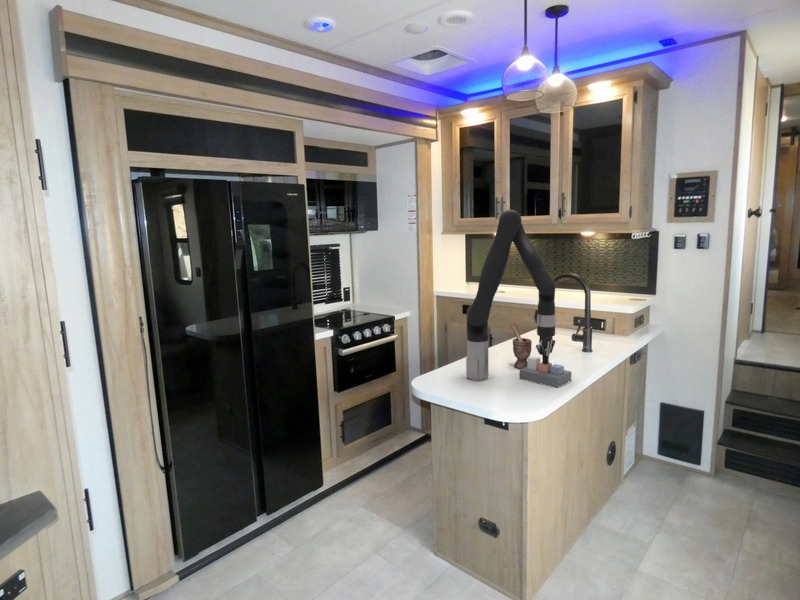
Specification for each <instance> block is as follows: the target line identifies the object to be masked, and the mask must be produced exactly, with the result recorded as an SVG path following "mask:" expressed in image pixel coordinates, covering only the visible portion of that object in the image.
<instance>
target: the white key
mask: <svg viewBox="0 0 800 600" xmlns="http://www.w3.org/2000/svg"><path fill="white" fill-rule="evenodd" d="M539 363H541V357H539V356H536V355H535V356H534V355H530V356H529V357H528V358H527V369H531V370H538V369H539Z"/></svg>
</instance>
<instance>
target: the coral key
mask: <svg viewBox="0 0 800 600" xmlns="http://www.w3.org/2000/svg"><path fill="white" fill-rule="evenodd" d="M552 365H553V364H552V362H549V363H548V364H543V363H542V362H540V363H539V371H540V372H545V373H549V372H550V370H551V366H552Z"/></svg>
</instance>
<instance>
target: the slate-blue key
mask: <svg viewBox="0 0 800 600" xmlns="http://www.w3.org/2000/svg"><path fill="white" fill-rule="evenodd" d="M564 370H565V366H564V365H562V364H556V363H554V364H552V366H551V370H550V374H554V375H559V376H560V375H562V374H564Z"/></svg>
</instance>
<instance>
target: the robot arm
mask: <svg viewBox="0 0 800 600" xmlns="http://www.w3.org/2000/svg"><path fill="white" fill-rule="evenodd" d="M512 244H513V245H514V246H515V248H516V250H517V253H518V254H519V256H520V259H521V260H522V262H523V265H524V266H525V268H526V270H527V272H528V273H529V275H530V276H531V277H532V280H533V282H534V285H535V286H536V289H537V291H538V303H537V317H536V334H537V336H538V337H539V340H538V344H536V345H535V348H536V349H537V352H538V355H541V356H542V359H541V360H542V361H541V363H543V364H548V363H550V355H551V354H552V353H553V351H554V348H555V344H556V340H554V339H553V337H555V336H556V303H555V297H556V282H555V280H554V279H553V278H551V275H550V273H548V270H547V268H546V265H545V263H544V261H543V260H542V258H541V256H540V254H539V252H538V251H537V250H536V248H535V246H533V244H532V242H531V241H530V239H529V238H528V235H527V233H526V231H525V229H524V225H523V224H522V216H521V214H520V213H519V212H518V211H517V210H514V209H507V210H505V211H503V212H502V213H501V214H500V216H499V219H498V224H497V229H496V233H495V237H494V240H493V243H492V244H491V247H490V249H489V251H488V253H487V255H486V257H485V259H484V263H483V265H482V269H481V272H480V275H479V276H480V277H479V281H478V286H477V287H478V288H477V292H476V295H475V298H474V300H473V302H472V303H471V304H470V305H469V306H468V307H467V310H466V335H467V338H466V339H467V340H466V341H467V342H466V344H467V348H466V349H467V350H466V351H467V352H466V353H467V357H466V358H465V359H466V361H465V363H466V364H465V367H466V369H465V371H466V372H465V374H466V379H468V378H469V380H473V381H477V382H478V381H484V380H487V379H489V318H490V314H491V313H490V312H491V309H492V305H493V301H494V298H495V296H496V293H497V291H498V289H499V286H500V284H501V282H502V279H503V276H504V274H505V271H506V268H507V265H508V260H509V256H510V251H511V247H512Z"/></svg>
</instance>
